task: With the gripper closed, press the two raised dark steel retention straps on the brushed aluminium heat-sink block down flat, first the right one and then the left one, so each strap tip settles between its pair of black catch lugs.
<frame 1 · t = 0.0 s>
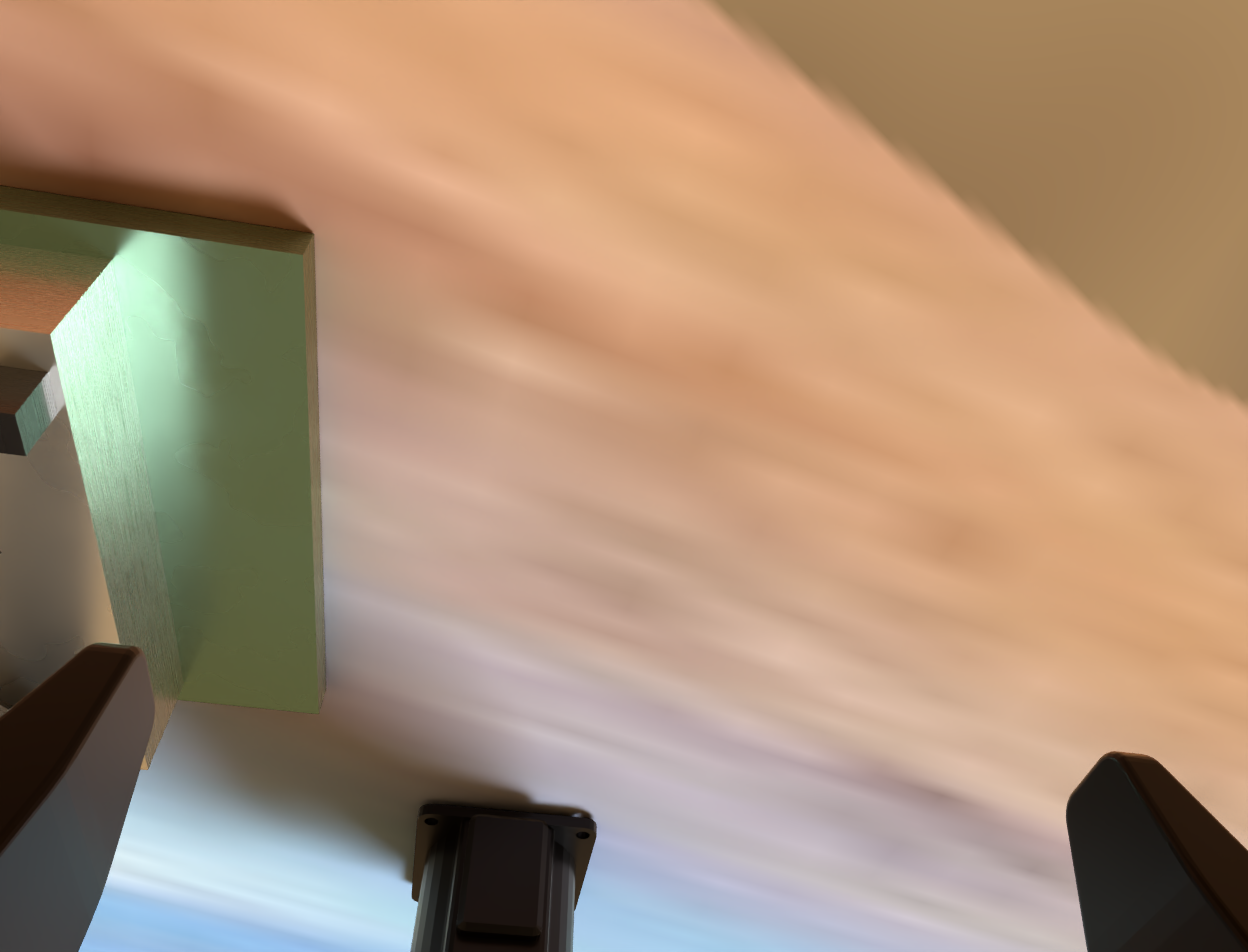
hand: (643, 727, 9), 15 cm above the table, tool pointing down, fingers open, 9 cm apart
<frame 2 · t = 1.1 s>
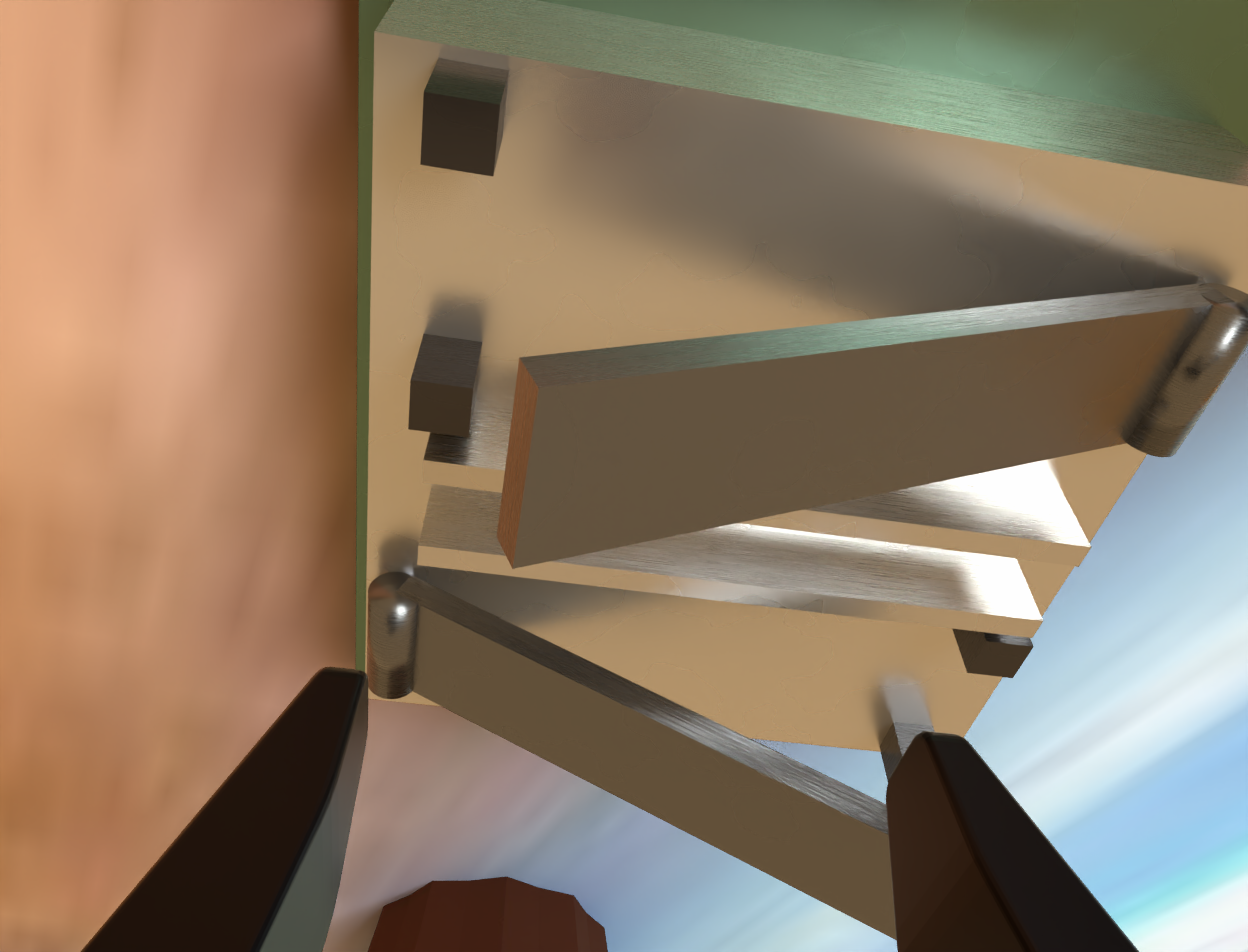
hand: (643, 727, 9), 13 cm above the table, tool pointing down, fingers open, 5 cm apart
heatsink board: (726, 382, 23), on the table
muffin: (489, 928, 39), on the table
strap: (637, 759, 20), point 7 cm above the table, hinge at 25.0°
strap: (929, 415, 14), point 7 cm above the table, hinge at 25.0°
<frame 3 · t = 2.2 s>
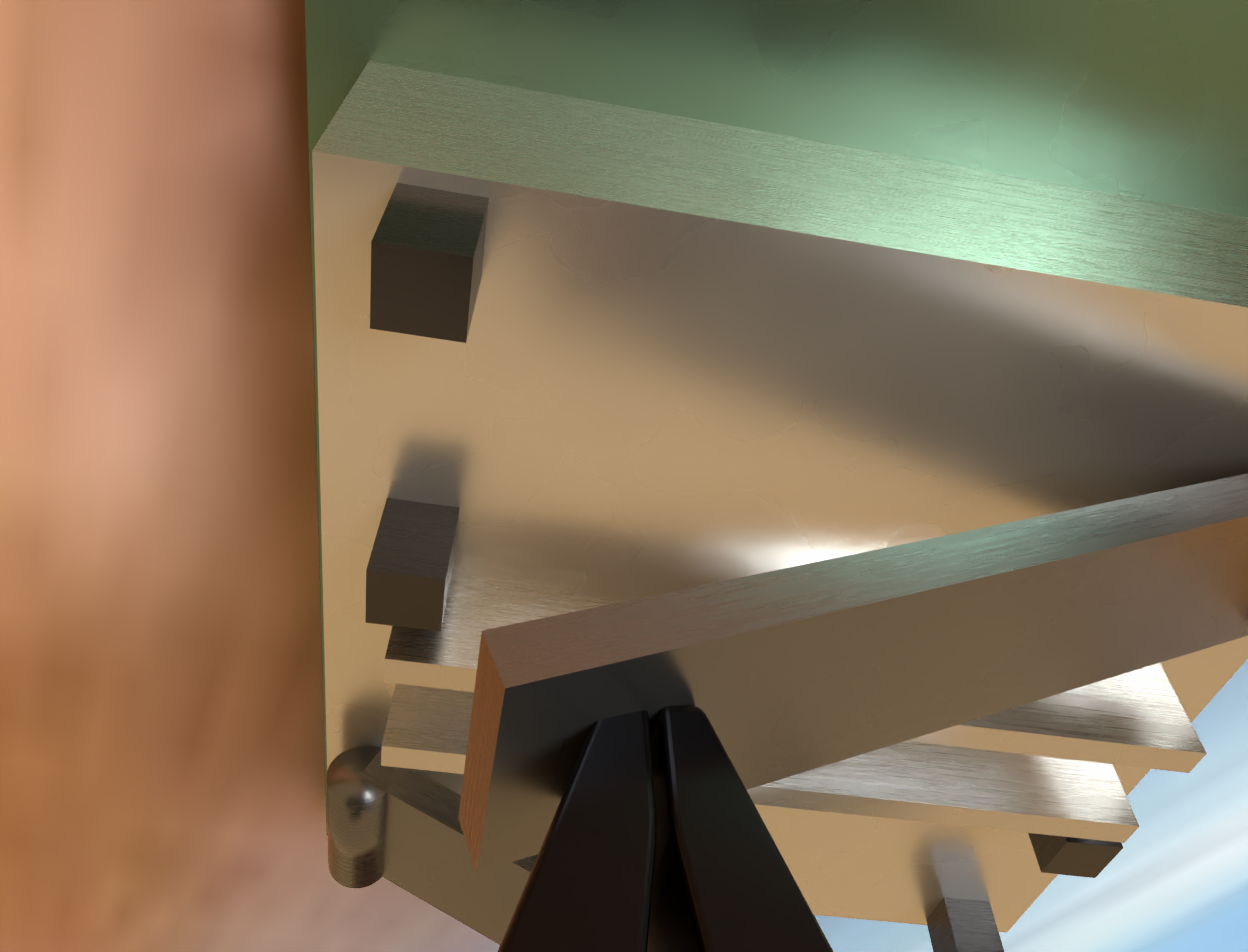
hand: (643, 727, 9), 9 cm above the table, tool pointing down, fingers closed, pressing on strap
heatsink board: (753, 509, 19), on the table
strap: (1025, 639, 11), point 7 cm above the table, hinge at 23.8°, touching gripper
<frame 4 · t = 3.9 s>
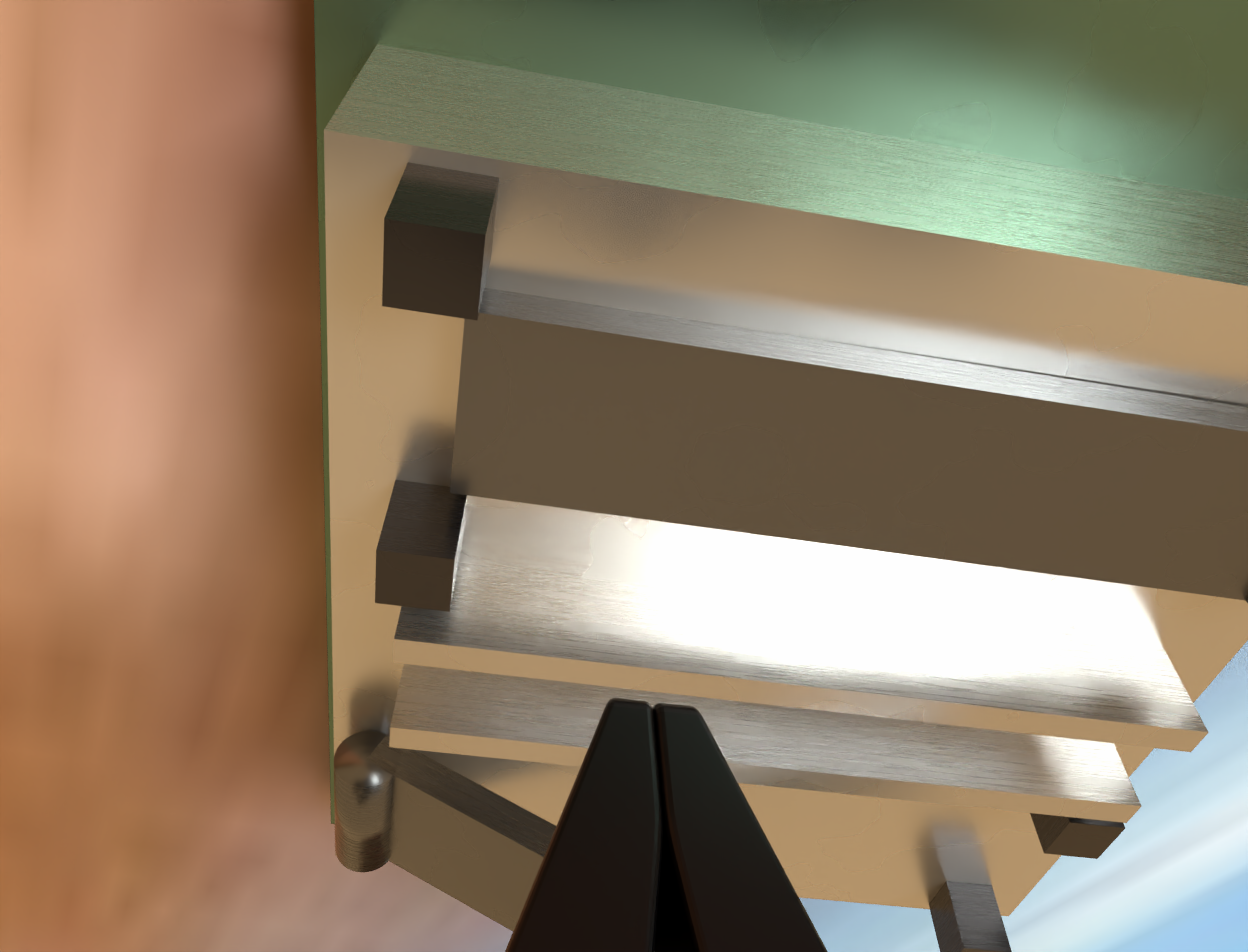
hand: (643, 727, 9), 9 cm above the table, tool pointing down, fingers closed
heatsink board: (757, 495, 19), on the table
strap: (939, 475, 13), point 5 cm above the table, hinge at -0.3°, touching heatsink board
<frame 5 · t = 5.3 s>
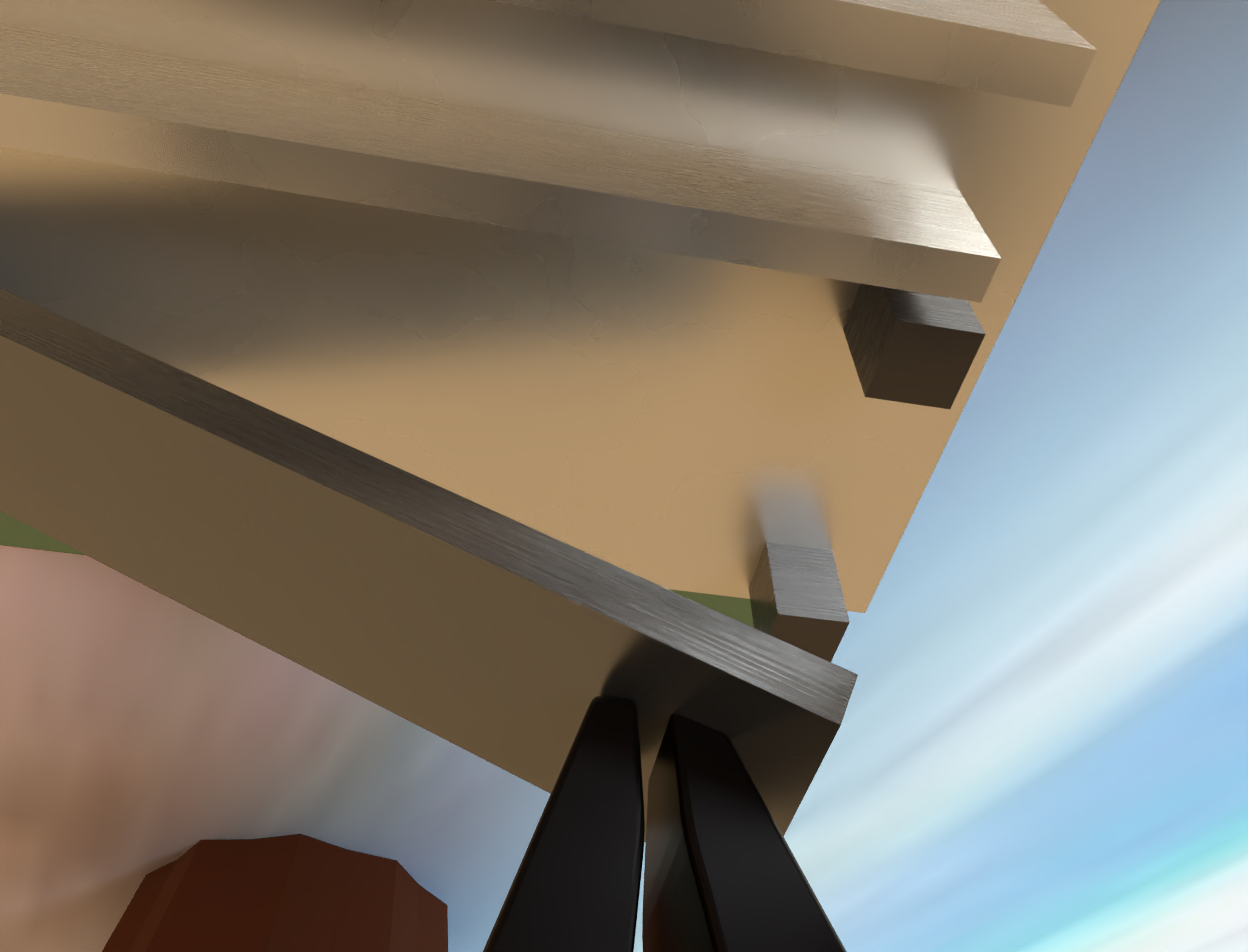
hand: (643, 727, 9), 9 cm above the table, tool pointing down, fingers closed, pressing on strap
muffin: (298, 906, 30), on the table
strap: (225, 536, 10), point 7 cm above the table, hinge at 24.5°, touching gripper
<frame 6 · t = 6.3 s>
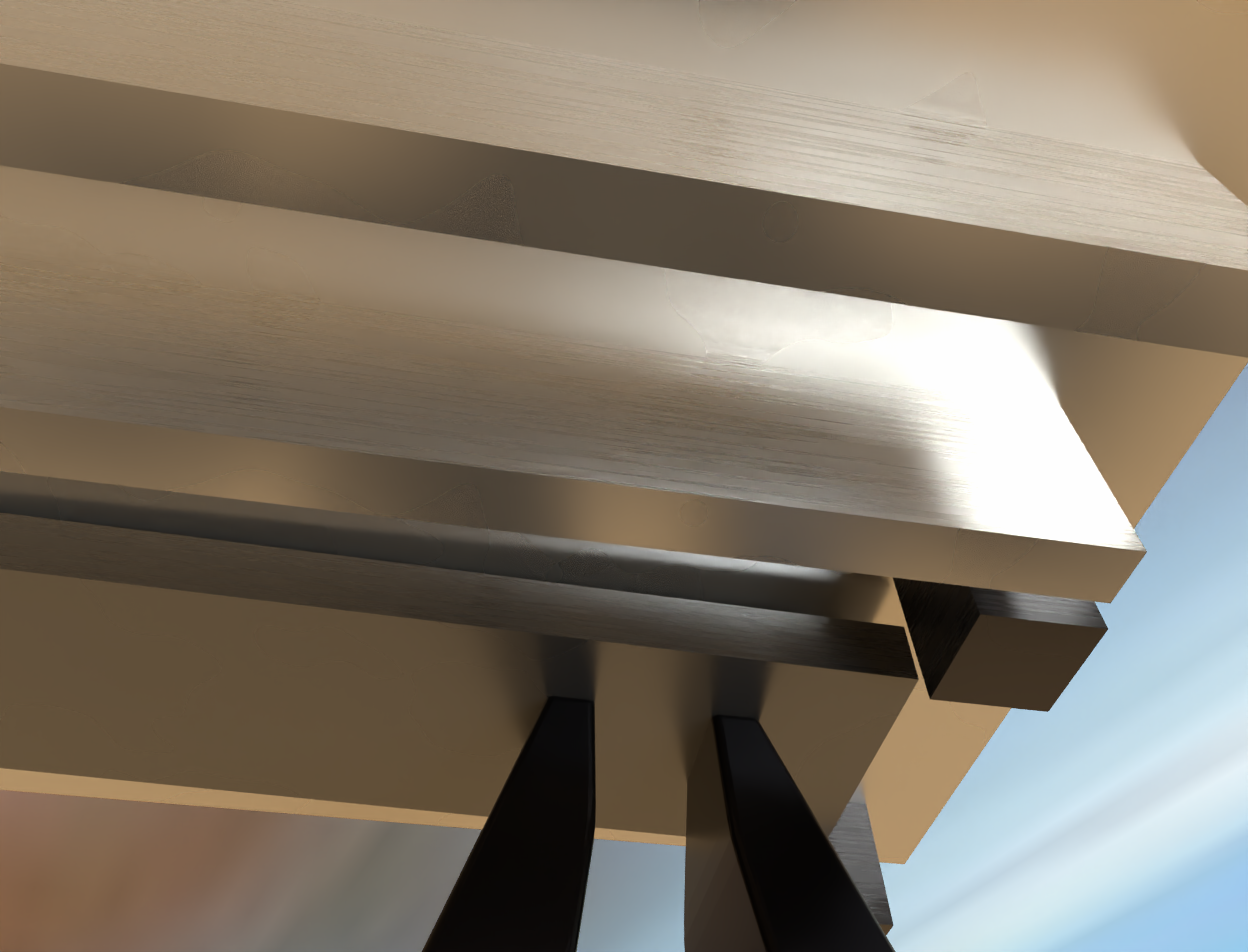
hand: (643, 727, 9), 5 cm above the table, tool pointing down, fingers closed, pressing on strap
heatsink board: (374, 20, 10), on the table
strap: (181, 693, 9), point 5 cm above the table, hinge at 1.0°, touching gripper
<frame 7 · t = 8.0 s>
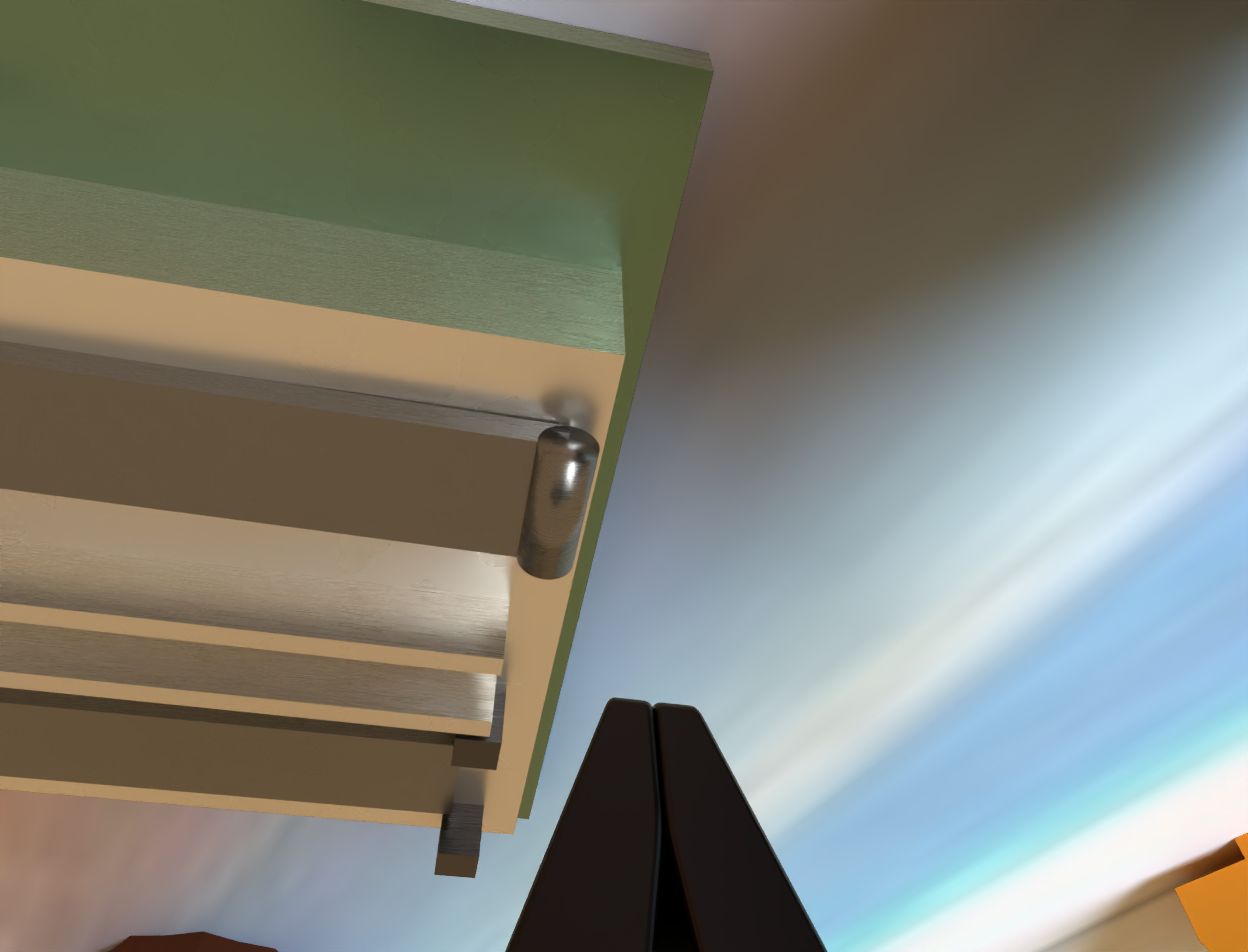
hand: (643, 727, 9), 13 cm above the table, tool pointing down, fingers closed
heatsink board: (262, 482, 24), on the table
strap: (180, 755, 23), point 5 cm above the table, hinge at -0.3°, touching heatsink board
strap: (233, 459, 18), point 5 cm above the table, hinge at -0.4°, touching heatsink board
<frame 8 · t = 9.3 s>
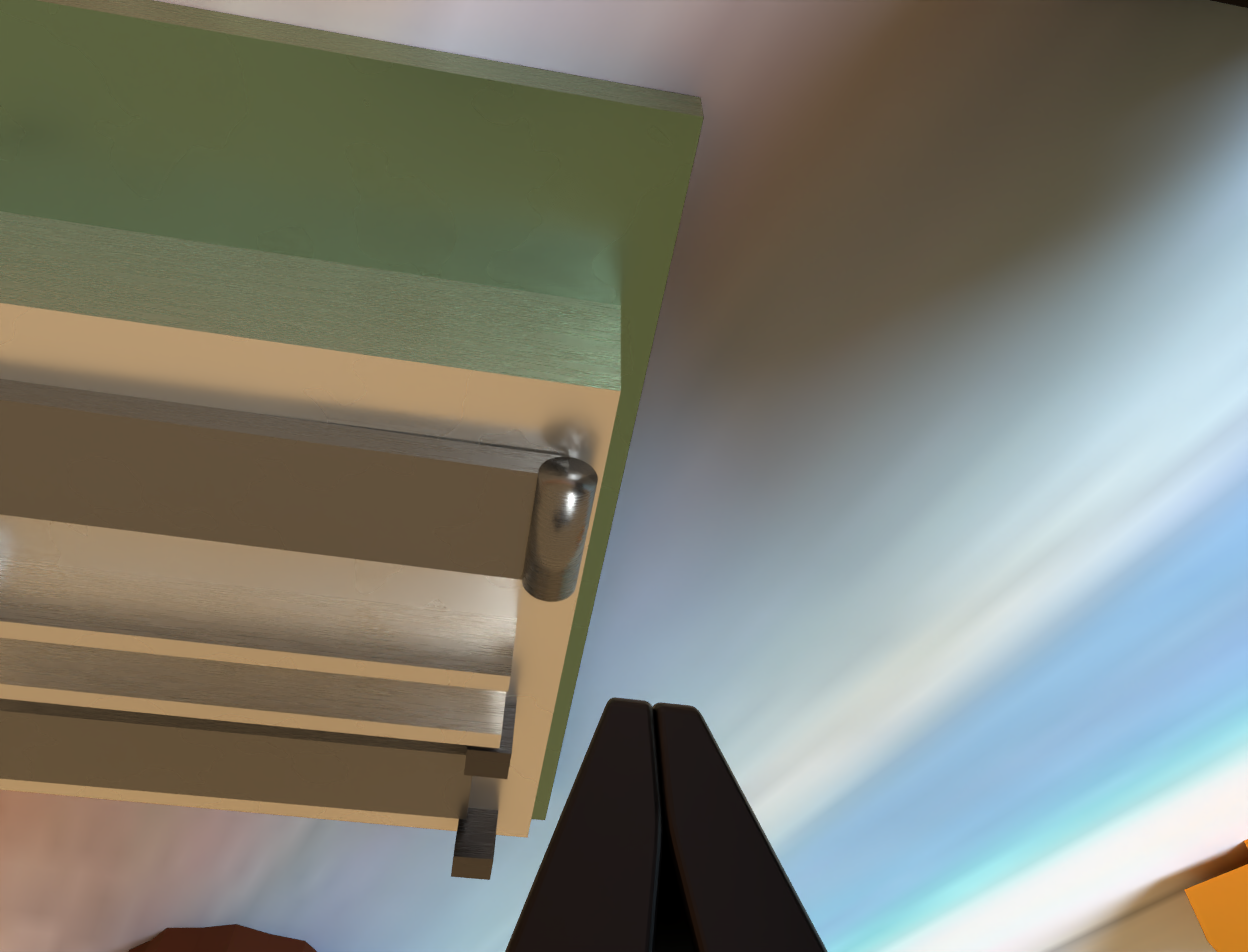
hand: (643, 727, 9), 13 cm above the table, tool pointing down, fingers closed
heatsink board: (283, 503, 25), on the table
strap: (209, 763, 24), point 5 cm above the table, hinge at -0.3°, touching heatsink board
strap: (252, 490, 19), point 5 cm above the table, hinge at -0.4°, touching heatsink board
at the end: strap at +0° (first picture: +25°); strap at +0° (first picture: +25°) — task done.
